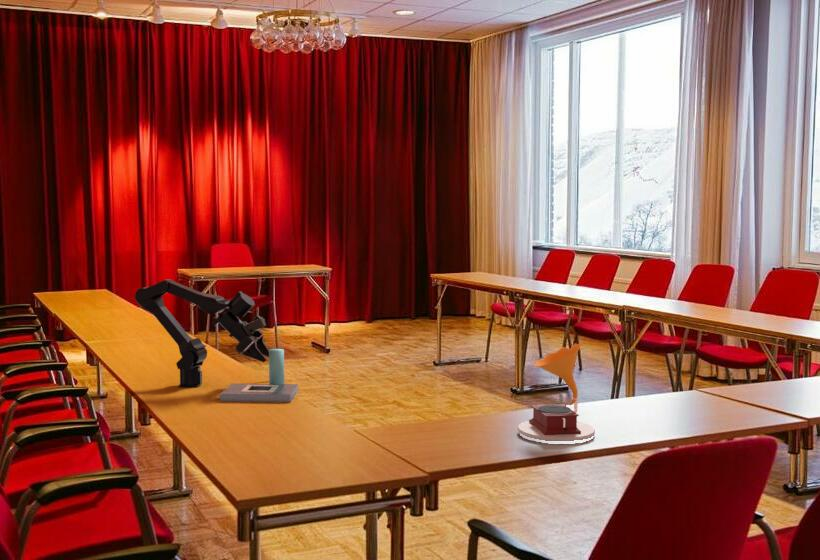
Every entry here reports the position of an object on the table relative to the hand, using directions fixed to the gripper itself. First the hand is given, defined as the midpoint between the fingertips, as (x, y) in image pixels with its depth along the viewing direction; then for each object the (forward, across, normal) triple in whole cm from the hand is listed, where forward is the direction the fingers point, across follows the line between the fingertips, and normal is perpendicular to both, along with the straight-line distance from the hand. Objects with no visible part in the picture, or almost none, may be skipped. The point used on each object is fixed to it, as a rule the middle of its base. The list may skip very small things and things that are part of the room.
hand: (267, 358), depth 302 cm
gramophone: (+71, -56, -55) cm, 106 cm away
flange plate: (+7, -13, +7) cm, 16 cm away
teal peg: (+9, 0, +5) cm, 10 cm away
